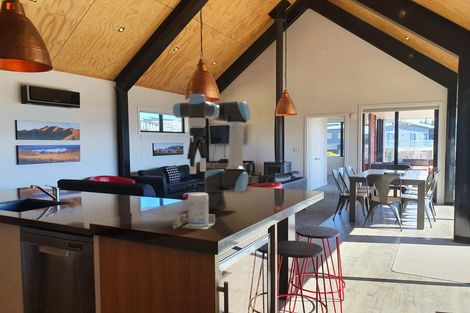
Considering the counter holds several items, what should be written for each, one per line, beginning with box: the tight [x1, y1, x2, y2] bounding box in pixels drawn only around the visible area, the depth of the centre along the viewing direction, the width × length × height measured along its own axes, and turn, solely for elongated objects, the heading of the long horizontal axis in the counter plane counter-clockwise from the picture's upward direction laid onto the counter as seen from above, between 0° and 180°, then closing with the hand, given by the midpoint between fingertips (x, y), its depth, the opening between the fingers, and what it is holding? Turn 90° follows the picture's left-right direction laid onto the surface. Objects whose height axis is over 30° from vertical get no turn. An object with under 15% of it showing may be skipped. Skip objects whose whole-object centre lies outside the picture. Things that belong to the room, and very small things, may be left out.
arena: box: [172, 212, 216, 230], centre depth 156 cm, size 16×16×4 cm
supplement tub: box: [187, 192, 210, 227], centre depth 155 cm, size 10×10×15 cm
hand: (198, 172), depth 157 cm, fingers open, 13 cm apart
